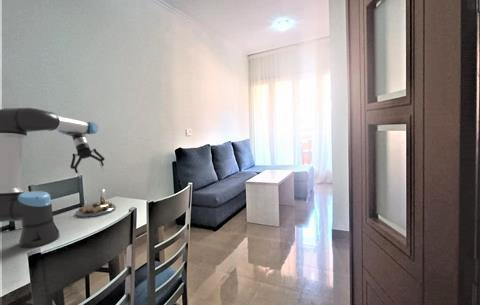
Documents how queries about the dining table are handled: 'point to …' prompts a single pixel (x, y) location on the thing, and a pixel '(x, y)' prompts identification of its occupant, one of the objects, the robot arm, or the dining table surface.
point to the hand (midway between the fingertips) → (91, 173)
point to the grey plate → (87, 215)
